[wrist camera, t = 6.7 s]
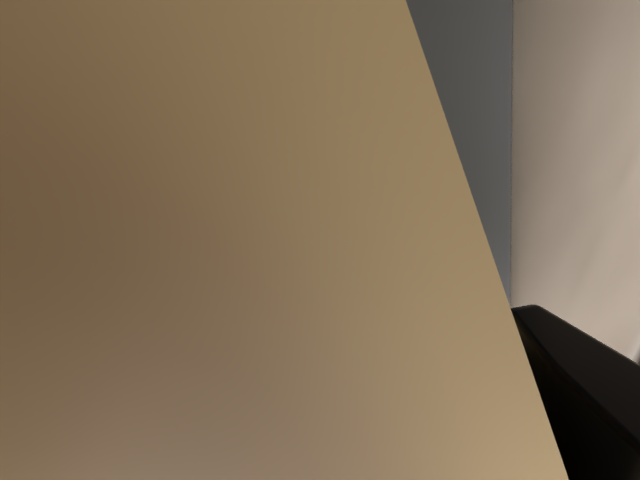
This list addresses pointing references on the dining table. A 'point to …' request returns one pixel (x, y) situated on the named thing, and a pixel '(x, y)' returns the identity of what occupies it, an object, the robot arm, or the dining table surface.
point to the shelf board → (245, 253)
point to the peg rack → (476, 102)
